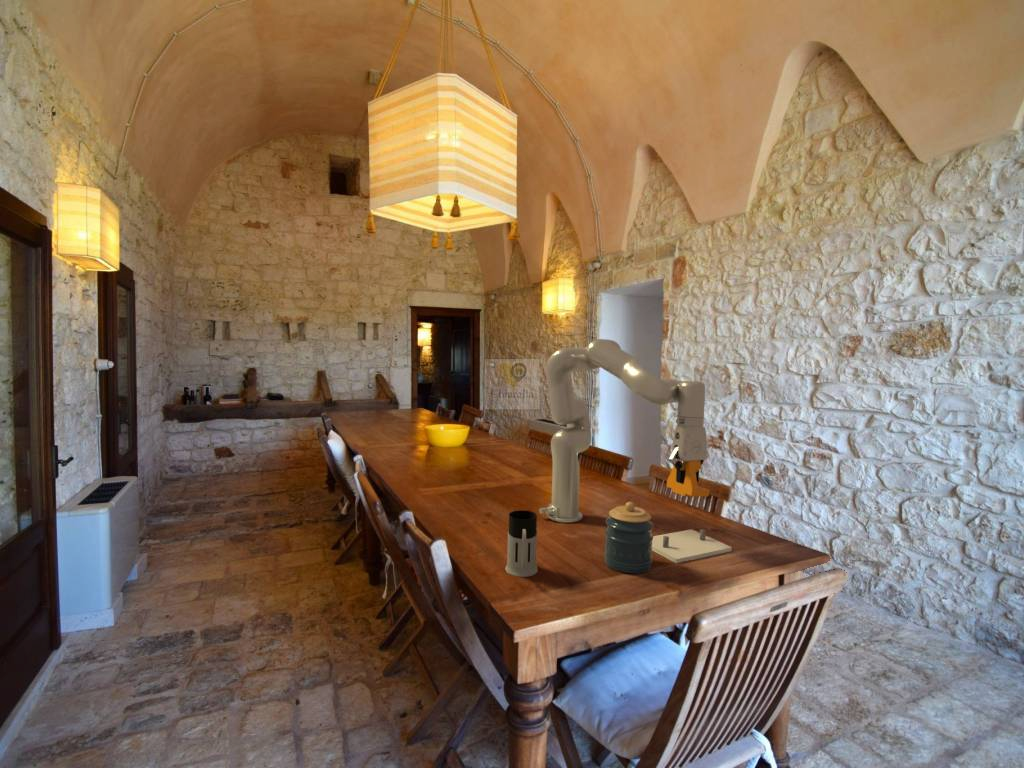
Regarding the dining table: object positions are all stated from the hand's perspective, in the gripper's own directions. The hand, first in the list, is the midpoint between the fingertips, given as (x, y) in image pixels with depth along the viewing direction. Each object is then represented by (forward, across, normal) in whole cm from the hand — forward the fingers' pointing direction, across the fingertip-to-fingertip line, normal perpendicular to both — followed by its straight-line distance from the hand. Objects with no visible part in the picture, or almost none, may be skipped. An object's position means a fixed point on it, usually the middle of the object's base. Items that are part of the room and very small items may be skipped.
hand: (687, 481), depth 148 cm
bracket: (+4, 0, 0) cm, 4 cm away
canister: (+21, -24, -3) cm, 32 cm away
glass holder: (+21, -54, +3) cm, 58 cm away
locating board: (+20, 0, 0) cm, 20 cm away
